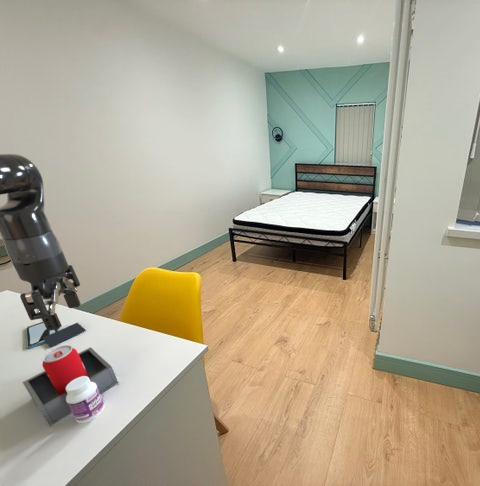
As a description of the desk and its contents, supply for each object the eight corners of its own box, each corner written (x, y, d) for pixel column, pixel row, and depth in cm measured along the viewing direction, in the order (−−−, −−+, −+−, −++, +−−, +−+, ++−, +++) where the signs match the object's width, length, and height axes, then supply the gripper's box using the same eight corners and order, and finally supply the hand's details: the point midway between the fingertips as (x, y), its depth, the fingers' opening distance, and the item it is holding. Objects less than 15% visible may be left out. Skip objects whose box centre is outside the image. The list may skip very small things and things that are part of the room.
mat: (50, 347, 82) (49, 345, 82) (43, 339, 86) (42, 337, 85) (85, 331, 89) (85, 329, 89) (78, 324, 93) (77, 322, 93)
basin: (49, 426, 59) (39, 409, 57) (32, 398, 66) (22, 382, 64) (118, 382, 70) (111, 366, 68) (97, 361, 77) (90, 347, 75)
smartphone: (54, 317, 96) (59, 335, 87) (55, 319, 96) (60, 337, 87) (25, 327, 91) (26, 347, 81) (26, 329, 91) (28, 350, 82)
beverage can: (87, 374, 72) (70, 340, 68) (94, 385, 69) (78, 350, 64) (56, 391, 67) (36, 355, 63) (62, 404, 64) (42, 367, 59)
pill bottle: (100, 419, 61) (86, 389, 57) (72, 427, 59) (55, 397, 56) (109, 399, 66) (96, 370, 62) (83, 406, 64) (68, 377, 60)
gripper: (36, 244, 60) (62, 303, 66) (-14, 271, 48) (24, 341, 54) (76, 240, 62) (98, 298, 68) (38, 265, 50) (69, 333, 56)
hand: (65, 317), depth 61 cm, fingers open, 8 cm apart
